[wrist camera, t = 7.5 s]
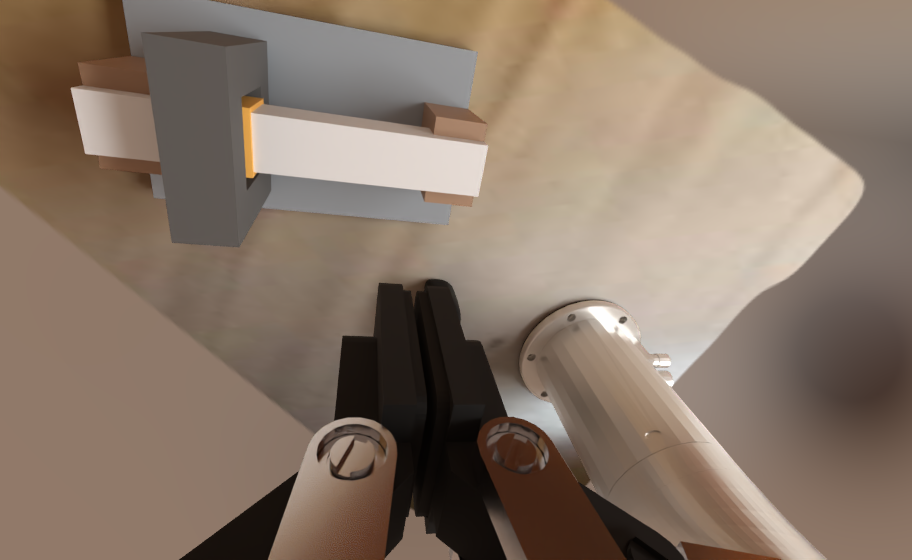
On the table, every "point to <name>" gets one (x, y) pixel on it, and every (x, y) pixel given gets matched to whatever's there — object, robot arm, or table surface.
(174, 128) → the collar
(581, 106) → the table surface
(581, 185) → the table surface
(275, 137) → the pipe stand
